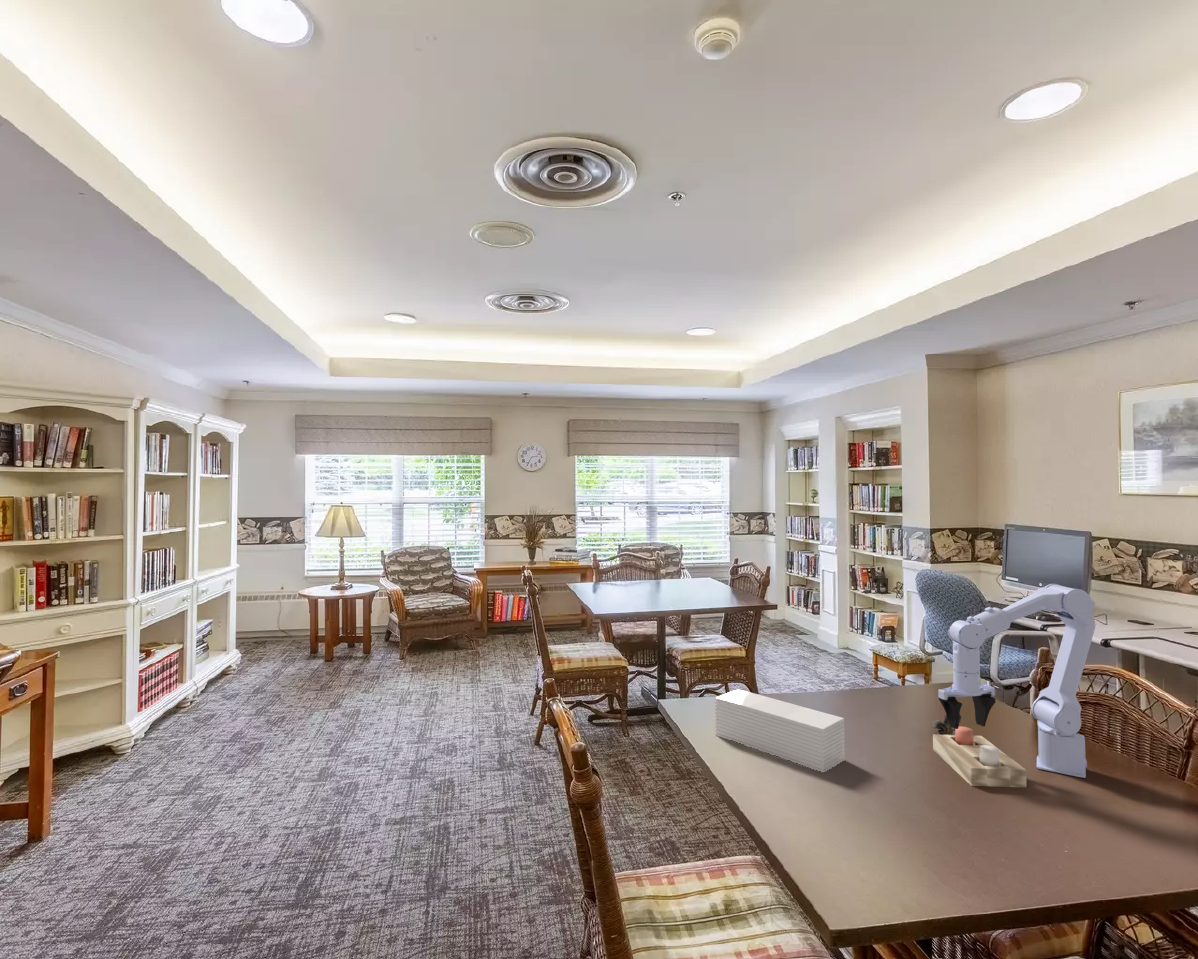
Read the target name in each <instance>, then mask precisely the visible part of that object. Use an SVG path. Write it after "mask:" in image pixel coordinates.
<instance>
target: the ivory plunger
mask: <svg viewBox="0 0 1198 959" xmlns="http://www.w3.org/2000/svg"><path fill="white" fill-rule="evenodd" d="M995 747H996V746H995ZM995 747H993V746H988V745H981V746H979V762H980V763H981V764H982V765H983V766H999V750H1000V749H999V748H998V747H997V748H998V749H997V748H995Z"/></svg>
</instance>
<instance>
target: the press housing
mask: <svg viewBox="0 0 1198 959" xmlns="http://www.w3.org/2000/svg"><path fill="white" fill-rule="evenodd" d="M973 737H974V745H958V744H957V743H956V742H955V735H951V734H949V735H944V734H932V751H933V752H935V753H936V754H937V755H938V756H939V757H940V758H941V759H942V760H943V761H944V762H945V763H947V764H948V766H950V768H952V769H953V770H954V771H955V772H956V773H957V774H958V775H959V776H960V777H961V778H962V779H963V780H965V781H966V783H968V784H969V785H970V787H972V786H973V787H996V788H997V787H998V788H999V787H1000V788H1003V787H1004V788H1026V789H1027V769H1026V768H1025V767H1023V766H1022V765H1021V764H1019V763H1018V762H1016V761H1015V760H1014V759H1013V758H1011V756H1009V755H1007V754H1006V753H1004V752H1003V751H1002V750H1001V749H999V748H998V747H996V746H995V744H993V743H991V742H990V741H989V740H988V739H986V738H985V737H983V736H982V735H973ZM981 745H988V746H993V747H995V748H997V749H999V766H983V765H982V764H981V763H980V762H979V746H981Z"/></svg>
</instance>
